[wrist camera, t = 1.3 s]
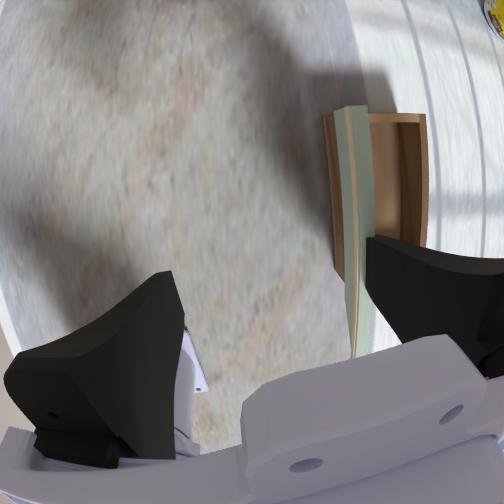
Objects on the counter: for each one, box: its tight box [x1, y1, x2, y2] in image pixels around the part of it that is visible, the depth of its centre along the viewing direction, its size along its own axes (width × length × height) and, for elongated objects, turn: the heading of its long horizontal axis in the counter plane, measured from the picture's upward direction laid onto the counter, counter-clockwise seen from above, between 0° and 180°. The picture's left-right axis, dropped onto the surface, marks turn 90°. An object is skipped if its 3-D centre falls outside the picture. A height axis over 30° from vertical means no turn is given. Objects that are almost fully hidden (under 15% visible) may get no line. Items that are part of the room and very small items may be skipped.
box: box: [322, 113, 429, 283], centre depth 20 cm, size 6×12×4 cm, turn 9°
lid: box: [333, 105, 375, 359], centre depth 15 cm, size 7×12×1 cm
